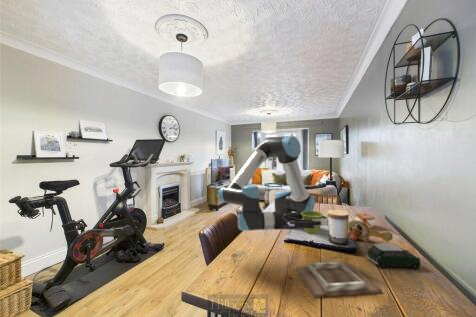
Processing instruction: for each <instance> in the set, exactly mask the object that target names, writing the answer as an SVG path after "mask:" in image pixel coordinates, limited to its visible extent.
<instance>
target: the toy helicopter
mask: <svg viewBox="0 0 476 317" xmlns="http://www.w3.org/2000/svg"><path fill="white" fill-rule="evenodd" d="M355 214H356V215H357V216H358V217H359V218H360V220H359V221H358V220H356V219H352V220H350V221H349V222H348V223H347V226H348V225H349V230H348V232H347V237H348V236H349V237H348V239H349V240H351V239H352V240H351V241H357V239H359V240H362V241H364V242H365V243H367V242H369V240H370V239H369V238H370V237H375V238H380V239H382V240H383V241H385V242H390V241H392V240H393V239H394V236H393V234H392V233H391V232H390V231H387V230H384V231H383V230H382V231H381V230H376V229H373V228H374V225H373V226H372V225H371V224H370V223H368V222H367V219H366V218H363V217H362V216H361V215H359V214H357V213H355ZM366 224H367V225H368V226H369V227H371V228H369V227H368V226H367V225H366Z"/></svg>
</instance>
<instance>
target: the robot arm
mask: <svg viewBox="0 0 476 317" xmlns="http://www.w3.org/2000/svg"><path fill="white" fill-rule="evenodd" d="M301 148H302V146H301V143H300V141H299V139H298V138H297V137H296V136H294V135H284V136H275V137H273V136H272V137H268V138H265V139H264V140H262V141H261V142H260V143H258V145H256V146H255V147H254V149H253V150H252V152H251V155H250V156H249V158H248V159H247V161H246V162H245V163H244V165H242V167H241V168H240V170H239V171H238V172H237V173H236V174H235V176H234V177H233V178H232V179H231V181H230V183H229V184H227V186H222V187H220V188H219V189H218V191H217V197H218V200H219V201H220V202H222V203H224V204H225V203H226V204H231V205H237V206H241V207H242V208H241V209H242V211H241V212H239V213H238V214H237V227H238V230H240V231H261V230H262V231H266V232H267V231H268V230H282V229H305V228H312V229H313V228H314V226H320V227H326V226H328V219H312V220H305V219H303V217H302V214H301V212H303V211H314V209H315V205H316V203H315V202H316V199H315V196H314V195H310V192H309V191H308V190H307V189H306V187H305V182H304V180H303V179H304V178H303V176H302V171H301V169H300V165H299V162H298V160H299V156H300V155H301V151H302V149H301ZM270 158H277V160H278V163H280V164H282V167H283V171H284V173H285V176H286V179H287V183H288V186H289V189H290V190H281V191H280V190H279V191H276V192H275V193H274V211H272V212H271V211H261V212H260V189H259V186H258V185H255V184H249V183H250V181H251V180H252V179H253V177H254V175H255V174H256V172H257V171H258V170H259V168H260V167H261V165H262V164H263V163H265V162H266V161H267V160H268V159H270Z"/></svg>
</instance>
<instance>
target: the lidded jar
mask: <svg viewBox="0 0 476 317" xmlns="http://www.w3.org/2000/svg"><path fill="white" fill-rule="evenodd" d="M356 214H359V215H361V216H362V217H363V218H366V219H367V222H368V223H370V224H371V225H372V226H373V227H374V225H375V216H374V215H373V214H369V213H366V212H363V213H361V212H360V213H358V212H357V213H355V214H354V216H355V217H354V218H355V219H354V220H358V221H359V220H360V218H359V217H358V216H357V215H356ZM366 225H367V224H366ZM367 226H368V225H367ZM368 227H369V226H368ZM369 228H370V229H372V227H369Z"/></svg>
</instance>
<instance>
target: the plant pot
mask: <svg viewBox="0 0 476 317" xmlns="http://www.w3.org/2000/svg"><path fill="white" fill-rule="evenodd" d="M301 214H302V217H303V219H305V220H312V219H322V216H324V213H322V212H320V211H315V210H313V211H303V212H301ZM304 233H306V234H308V235H310V236H311V235H312V236H315V235H320V233H321V226H314V228H313V229H312V228H304Z"/></svg>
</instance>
